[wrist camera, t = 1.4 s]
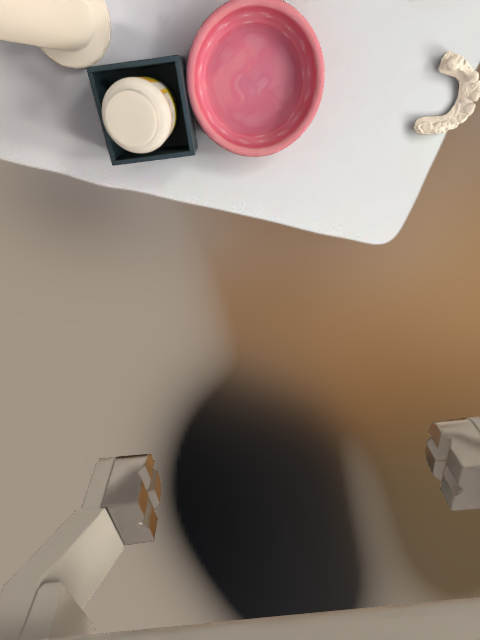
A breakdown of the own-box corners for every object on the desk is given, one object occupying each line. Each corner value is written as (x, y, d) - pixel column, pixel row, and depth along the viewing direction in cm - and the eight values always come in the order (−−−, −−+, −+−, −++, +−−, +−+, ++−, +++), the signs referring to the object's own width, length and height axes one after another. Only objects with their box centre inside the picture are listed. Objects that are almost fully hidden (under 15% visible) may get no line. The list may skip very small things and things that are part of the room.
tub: (100, 68, 37) (85, 67, 33) (183, 57, 37) (178, 54, 33) (123, 156, 41) (112, 165, 37) (197, 147, 41) (194, 155, 37)
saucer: (188, -7, 34) (185, -13, 32) (328, 6, 35) (337, 0, 33) (188, 148, 41) (186, 153, 38) (307, 155, 42) (313, 161, 39)
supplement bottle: (110, 110, 39) (77, 120, 30) (145, 61, 37) (121, 57, 28) (155, 153, 41) (137, 174, 32) (191, 109, 39) (182, 119, 30)
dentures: (450, 143, 42) (457, 145, 40) (409, 131, 41) (415, 133, 40) (489, 65, 38) (498, 65, 37) (444, 49, 37) (452, 49, 36)
